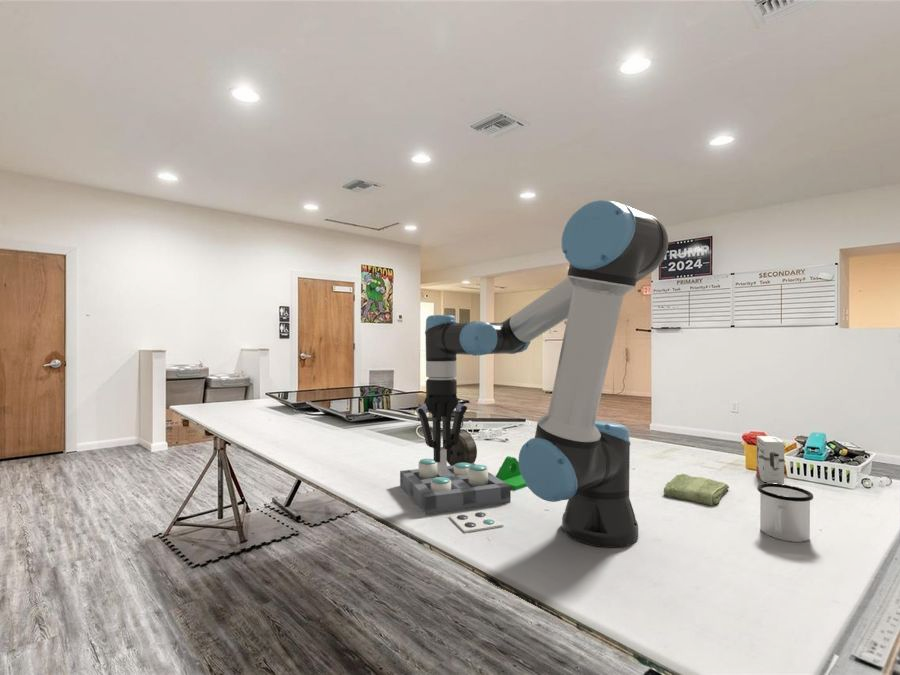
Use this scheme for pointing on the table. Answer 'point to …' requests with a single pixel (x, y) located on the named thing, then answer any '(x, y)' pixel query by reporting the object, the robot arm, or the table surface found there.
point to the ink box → (770, 459)
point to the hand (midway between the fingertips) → (442, 474)
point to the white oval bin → (785, 512)
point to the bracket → (511, 473)
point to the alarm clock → (463, 449)
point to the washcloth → (695, 489)
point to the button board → (453, 492)
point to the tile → (475, 521)
